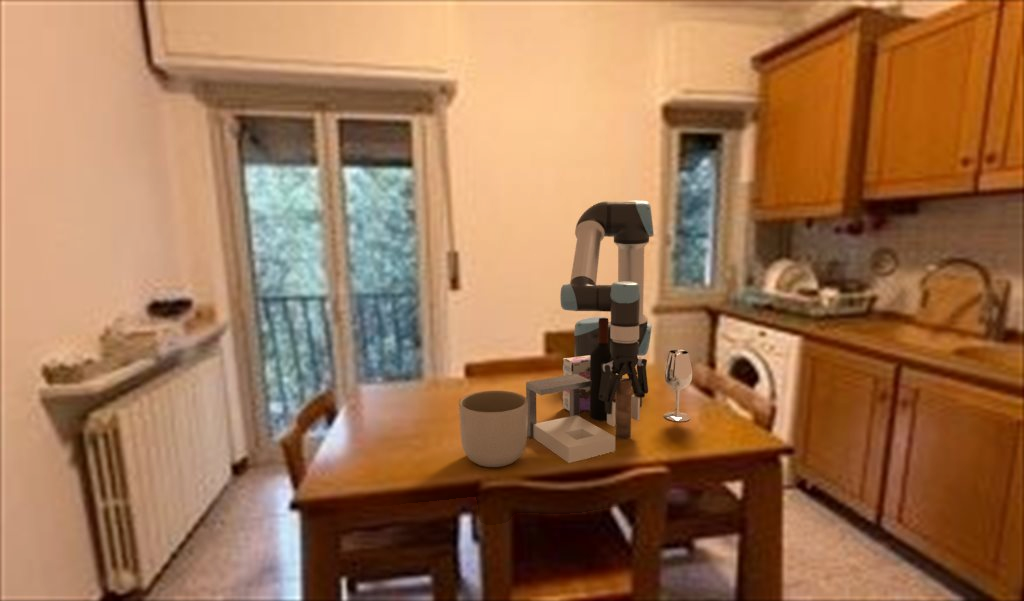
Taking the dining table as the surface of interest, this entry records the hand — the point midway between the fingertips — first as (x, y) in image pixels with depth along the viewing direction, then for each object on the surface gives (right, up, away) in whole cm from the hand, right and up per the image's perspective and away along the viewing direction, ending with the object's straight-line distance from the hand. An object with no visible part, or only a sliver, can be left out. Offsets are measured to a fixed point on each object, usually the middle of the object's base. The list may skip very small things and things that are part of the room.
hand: (623, 421), depth 154 cm
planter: (-35, -7, -12) cm, 37 cm away
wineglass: (+19, -2, +14) cm, 24 cm away
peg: (0, -4, +1) cm, 4 cm away
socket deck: (-14, -5, -4) cm, 16 cm away
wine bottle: (-3, -2, +16) cm, 16 cm away
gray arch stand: (-17, -4, +2) cm, 18 cm away
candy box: (-7, -1, +24) cm, 25 cm away
